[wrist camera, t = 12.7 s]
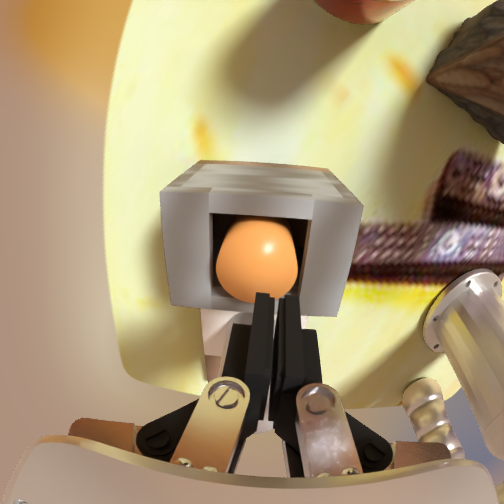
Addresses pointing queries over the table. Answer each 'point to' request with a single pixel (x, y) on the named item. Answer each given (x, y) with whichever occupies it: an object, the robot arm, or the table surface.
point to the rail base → (259, 204)
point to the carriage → (217, 341)
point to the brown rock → (476, 69)
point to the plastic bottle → (430, 415)
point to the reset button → (257, 257)
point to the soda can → (363, 9)
